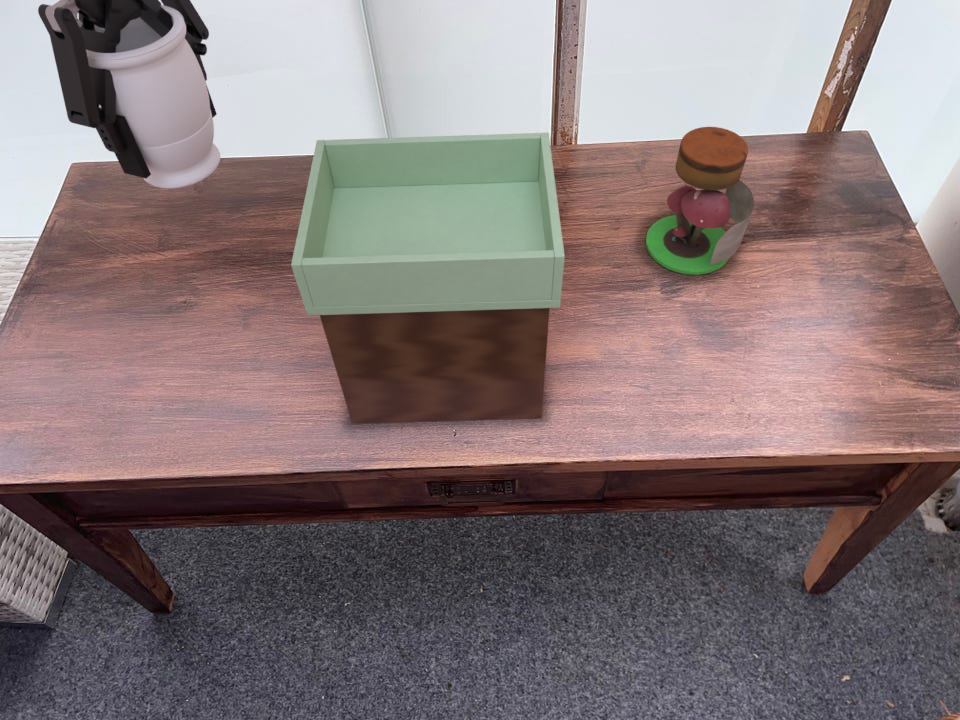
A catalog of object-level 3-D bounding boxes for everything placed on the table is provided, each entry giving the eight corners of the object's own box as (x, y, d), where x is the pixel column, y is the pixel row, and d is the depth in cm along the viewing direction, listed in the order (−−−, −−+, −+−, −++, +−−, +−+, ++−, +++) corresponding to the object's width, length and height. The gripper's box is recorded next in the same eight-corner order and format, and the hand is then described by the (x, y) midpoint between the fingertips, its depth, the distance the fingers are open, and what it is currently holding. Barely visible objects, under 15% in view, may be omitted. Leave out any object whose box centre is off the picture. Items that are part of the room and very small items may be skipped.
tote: (545, 184, 72) (548, 132, 67) (560, 308, 61) (564, 256, 57) (328, 191, 72) (316, 139, 67) (307, 315, 62) (290, 264, 57)
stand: (532, 312, 85) (538, 190, 71) (541, 418, 76) (550, 301, 62) (363, 317, 86) (336, 196, 71) (352, 424, 76) (317, 308, 62)
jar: (157, 134, 82) (100, -1, 70) (244, 140, 81) (201, 4, 69) (114, 193, 75) (43, 55, 63) (209, 200, 74) (154, 61, 62)
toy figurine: (643, 281, 88) (664, 181, 76) (640, 213, 96) (659, 113, 84) (742, 287, 87) (780, 186, 75) (731, 218, 95) (764, 117, 83)
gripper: (3, -27, 51) (129, 218, 68) (198, -136, 64) (263, 92, 81) (-75, -42, 53) (66, 200, 70) (130, -144, 66) (207, 80, 83)
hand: (172, 142), depth 76 cm, fingers closed on jar, 11 cm apart
